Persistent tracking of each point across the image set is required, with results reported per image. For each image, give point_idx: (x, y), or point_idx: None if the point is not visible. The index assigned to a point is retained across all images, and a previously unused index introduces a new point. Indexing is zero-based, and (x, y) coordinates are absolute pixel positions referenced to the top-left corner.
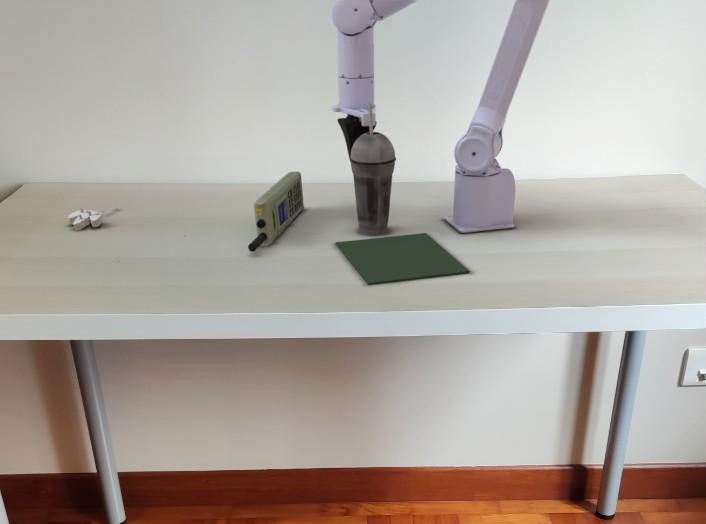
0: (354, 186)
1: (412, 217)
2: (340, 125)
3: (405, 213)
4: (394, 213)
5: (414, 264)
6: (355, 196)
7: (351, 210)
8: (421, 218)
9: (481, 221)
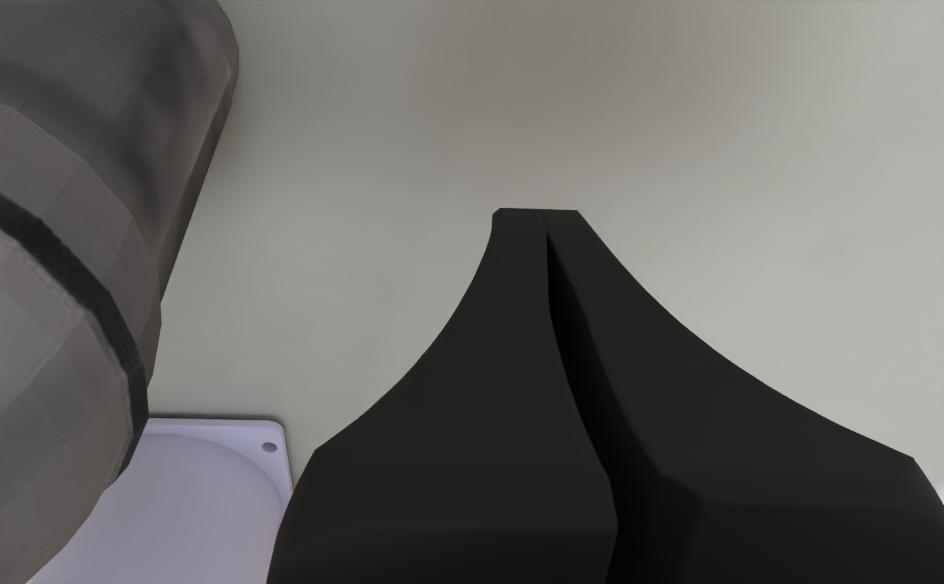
0: (10, 35)
1: (368, 319)
2: (775, 440)
3: (449, 311)
4: (470, 265)
5: None
6: (54, 10)
7: (640, 55)
8: (338, 348)
9: None
